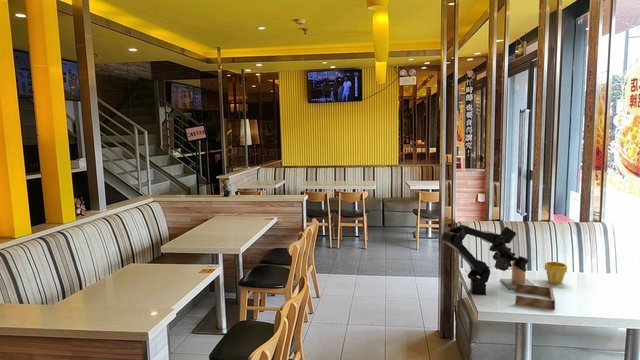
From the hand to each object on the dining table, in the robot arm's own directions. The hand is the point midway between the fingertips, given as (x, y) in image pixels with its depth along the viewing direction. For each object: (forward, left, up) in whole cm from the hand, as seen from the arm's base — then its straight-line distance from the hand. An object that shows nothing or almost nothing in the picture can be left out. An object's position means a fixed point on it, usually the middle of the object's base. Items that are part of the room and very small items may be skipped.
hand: (518, 268), depth 223 cm
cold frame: (+1, -20, -9) cm, 22 cm away
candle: (+1, 0, -8) cm, 8 cm away
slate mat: (+1, 0, -9) cm, 9 cm away
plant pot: (+22, +6, -9) cm, 24 cm away
